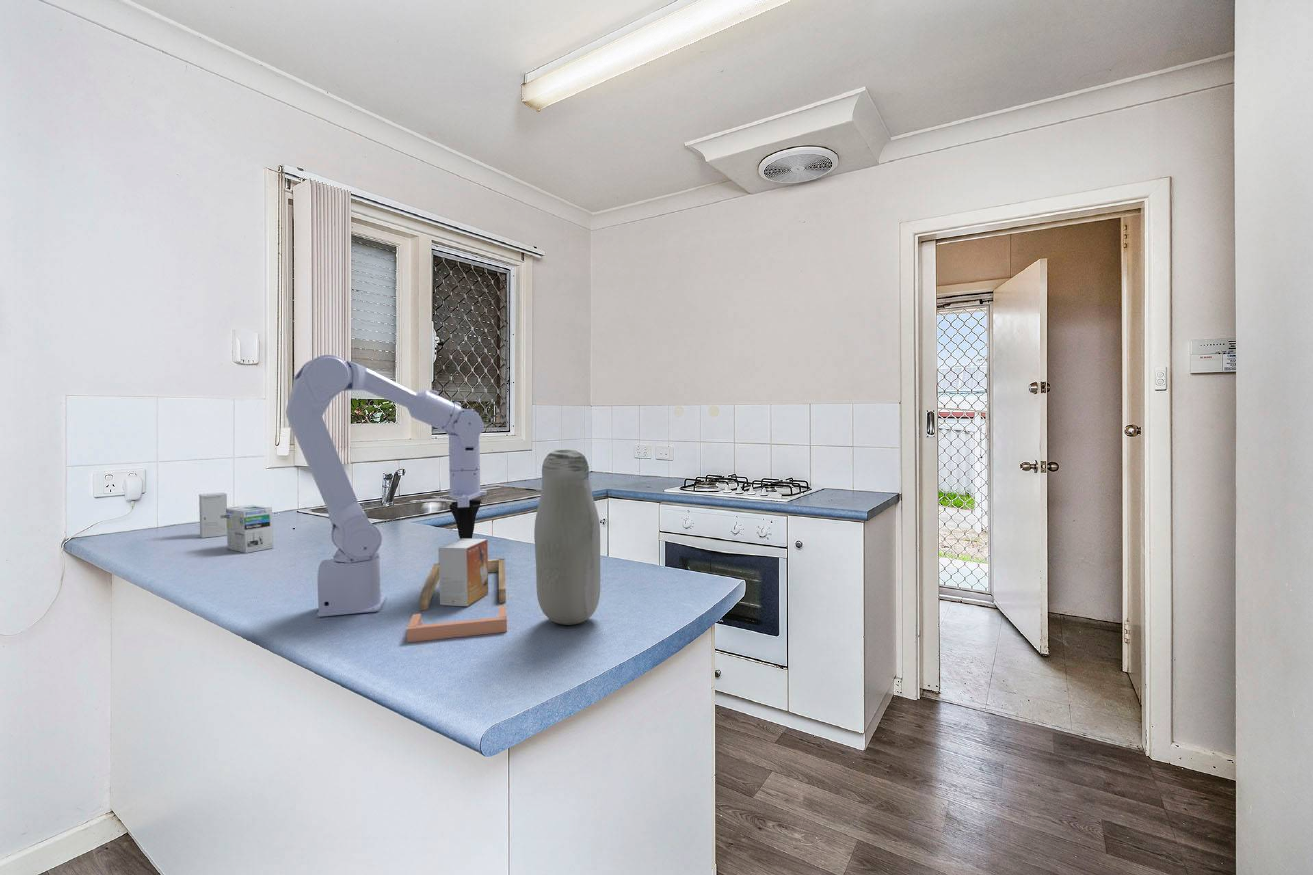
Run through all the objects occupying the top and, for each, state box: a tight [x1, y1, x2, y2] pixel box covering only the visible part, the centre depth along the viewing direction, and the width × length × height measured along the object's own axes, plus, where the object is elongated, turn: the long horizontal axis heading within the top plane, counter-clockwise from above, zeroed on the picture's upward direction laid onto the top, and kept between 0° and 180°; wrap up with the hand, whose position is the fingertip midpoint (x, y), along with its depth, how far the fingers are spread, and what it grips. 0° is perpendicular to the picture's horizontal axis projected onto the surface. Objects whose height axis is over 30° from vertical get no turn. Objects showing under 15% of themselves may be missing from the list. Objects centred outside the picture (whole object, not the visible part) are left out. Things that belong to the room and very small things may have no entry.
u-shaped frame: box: [419, 558, 507, 611], centre depth 113 cm, size 14×23×2 cm, turn 15°
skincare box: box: [198, 492, 228, 539], centre depth 165 cm, size 6×4×12 cm
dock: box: [406, 605, 508, 643], centre depth 91 cm, size 14×7×2 cm, turn 105°
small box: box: [438, 538, 489, 607], centre depth 106 cm, size 8×6×10 cm
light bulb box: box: [226, 504, 275, 554], centre depth 149 cm, size 11×7×11 cm, turn 58°
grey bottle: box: [533, 449, 601, 626], centre depth 93 cm, size 10×10×28 cm
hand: (466, 538), depth 114 cm, fingers open, 3 cm apart
